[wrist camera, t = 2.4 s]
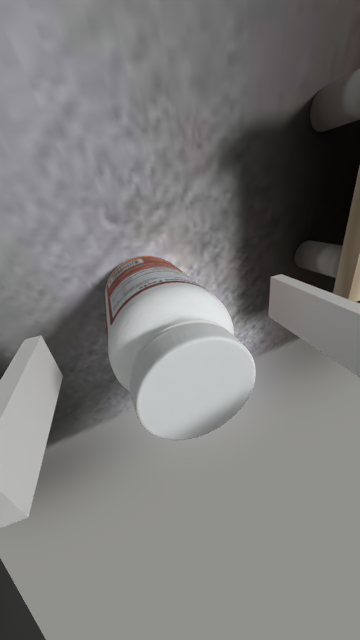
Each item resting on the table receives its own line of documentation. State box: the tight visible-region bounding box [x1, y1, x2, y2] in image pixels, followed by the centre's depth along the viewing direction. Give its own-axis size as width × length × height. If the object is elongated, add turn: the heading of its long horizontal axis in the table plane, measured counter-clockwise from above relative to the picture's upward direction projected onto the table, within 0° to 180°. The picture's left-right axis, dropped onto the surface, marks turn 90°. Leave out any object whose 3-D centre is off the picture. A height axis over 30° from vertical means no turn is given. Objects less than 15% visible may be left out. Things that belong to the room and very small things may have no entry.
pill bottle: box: [104, 256, 255, 440], centre depth 13 cm, size 6×6×11 cm
